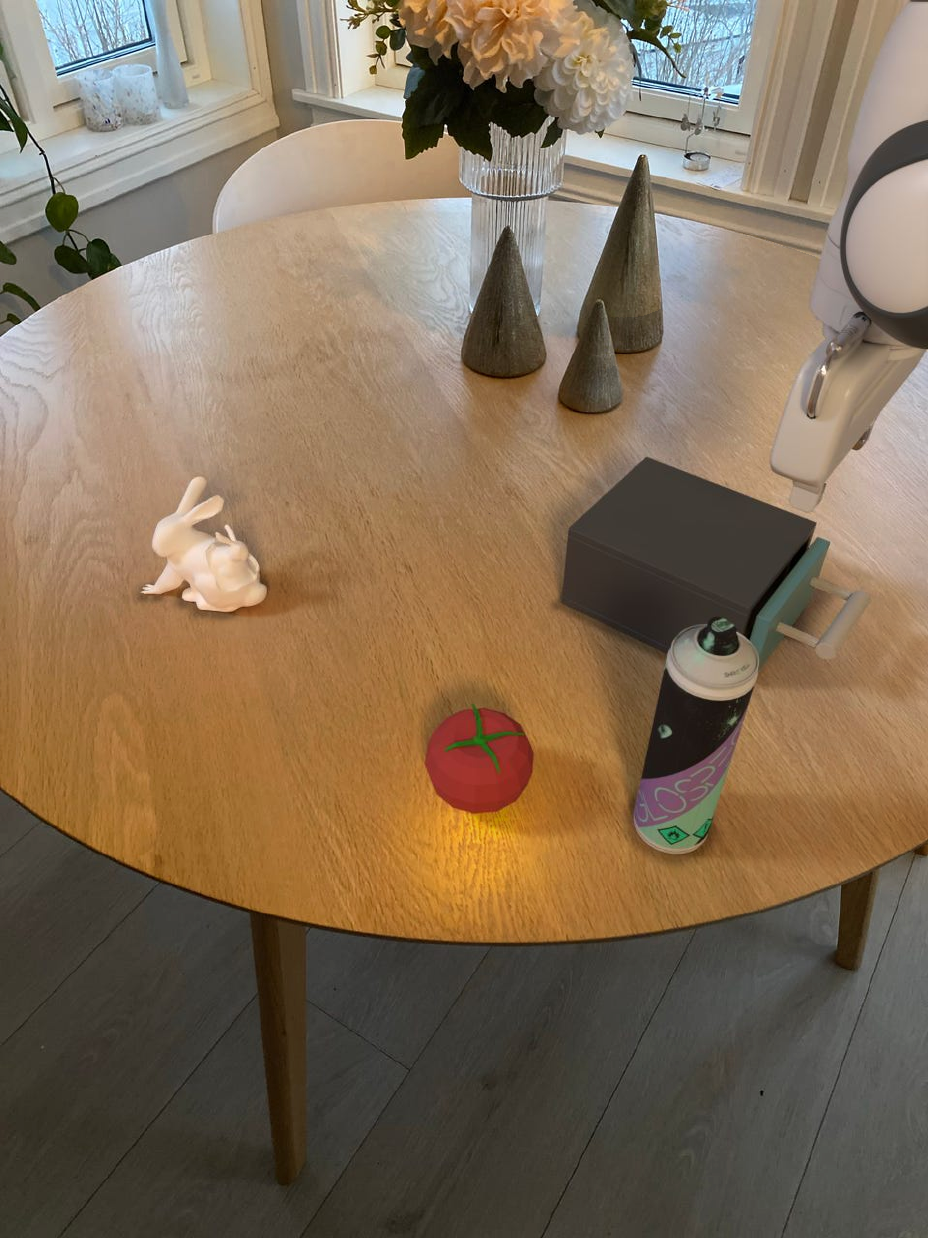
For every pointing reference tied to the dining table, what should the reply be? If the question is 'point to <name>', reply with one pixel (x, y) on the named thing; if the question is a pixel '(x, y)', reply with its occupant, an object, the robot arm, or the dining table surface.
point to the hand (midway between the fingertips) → (828, 473)
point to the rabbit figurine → (205, 558)
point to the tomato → (479, 760)
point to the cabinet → (676, 554)
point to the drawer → (802, 608)
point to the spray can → (694, 734)
